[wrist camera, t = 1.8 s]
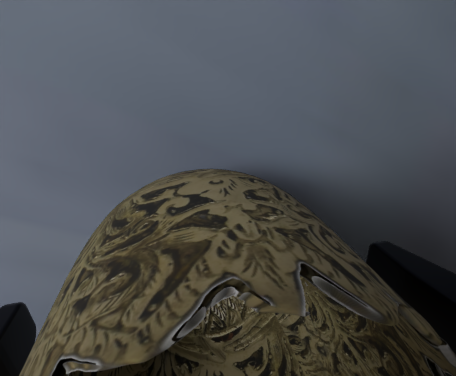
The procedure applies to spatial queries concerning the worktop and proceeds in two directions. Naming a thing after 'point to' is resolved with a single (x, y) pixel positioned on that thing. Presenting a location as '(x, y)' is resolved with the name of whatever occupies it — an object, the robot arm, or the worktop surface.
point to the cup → (228, 293)
